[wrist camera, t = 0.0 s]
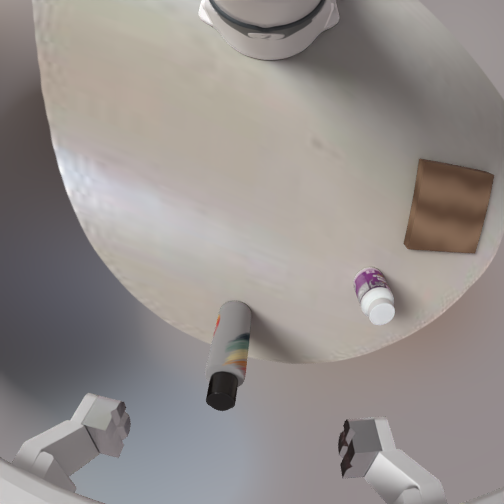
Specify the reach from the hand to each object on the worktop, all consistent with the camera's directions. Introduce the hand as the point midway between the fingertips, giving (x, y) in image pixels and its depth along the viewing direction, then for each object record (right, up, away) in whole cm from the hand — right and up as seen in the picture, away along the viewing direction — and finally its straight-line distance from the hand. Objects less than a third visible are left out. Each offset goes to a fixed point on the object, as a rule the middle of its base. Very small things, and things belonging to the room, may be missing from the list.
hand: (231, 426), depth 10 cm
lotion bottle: (-2, -4, +46) cm, 46 cm away
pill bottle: (+20, +2, +42) cm, 46 cm away
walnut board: (+32, +13, +34) cm, 49 cm away
